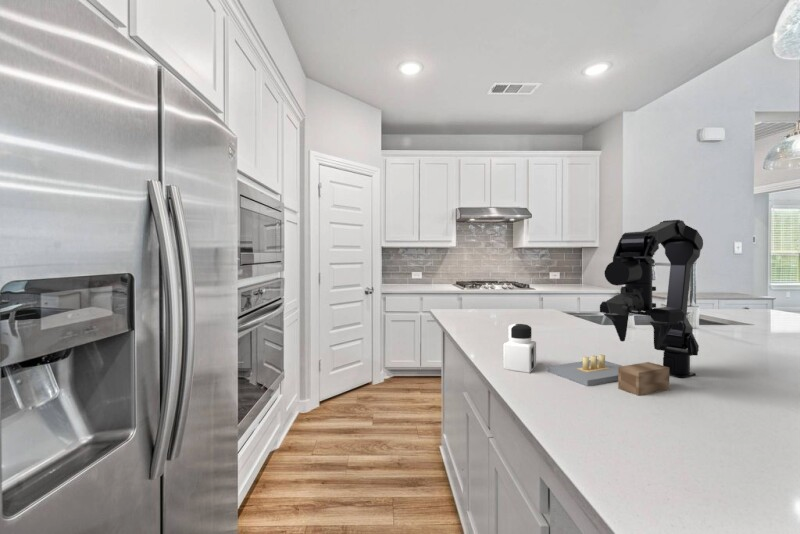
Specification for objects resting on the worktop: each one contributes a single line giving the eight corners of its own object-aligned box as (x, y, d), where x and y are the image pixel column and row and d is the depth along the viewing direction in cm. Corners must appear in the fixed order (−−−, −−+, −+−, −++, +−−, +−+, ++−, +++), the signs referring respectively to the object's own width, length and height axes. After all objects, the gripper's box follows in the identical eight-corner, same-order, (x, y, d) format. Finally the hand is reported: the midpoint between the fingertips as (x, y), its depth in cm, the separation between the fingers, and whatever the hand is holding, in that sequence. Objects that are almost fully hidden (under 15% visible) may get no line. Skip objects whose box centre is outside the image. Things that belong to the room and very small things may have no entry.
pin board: (599, 363, 120) (599, 347, 119) (642, 376, 107) (642, 358, 106) (547, 371, 112) (547, 354, 112) (587, 386, 99) (587, 366, 99)
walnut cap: (648, 383, 101) (648, 362, 101) (669, 389, 96) (669, 367, 96) (618, 388, 97) (618, 366, 97) (638, 395, 92) (638, 372, 92)
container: (536, 366, 117) (536, 323, 117) (529, 373, 111) (529, 327, 110) (510, 363, 121) (510, 321, 121) (503, 369, 115) (502, 325, 114)
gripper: (583, 282, 102) (584, 341, 103) (651, 287, 85) (651, 358, 85) (615, 279, 106) (615, 336, 107) (686, 284, 89) (686, 352, 89)
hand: (638, 345), depth 97 cm, fingers open, 9 cm apart
